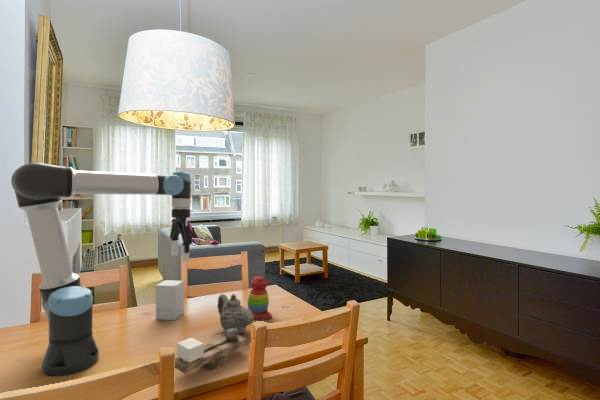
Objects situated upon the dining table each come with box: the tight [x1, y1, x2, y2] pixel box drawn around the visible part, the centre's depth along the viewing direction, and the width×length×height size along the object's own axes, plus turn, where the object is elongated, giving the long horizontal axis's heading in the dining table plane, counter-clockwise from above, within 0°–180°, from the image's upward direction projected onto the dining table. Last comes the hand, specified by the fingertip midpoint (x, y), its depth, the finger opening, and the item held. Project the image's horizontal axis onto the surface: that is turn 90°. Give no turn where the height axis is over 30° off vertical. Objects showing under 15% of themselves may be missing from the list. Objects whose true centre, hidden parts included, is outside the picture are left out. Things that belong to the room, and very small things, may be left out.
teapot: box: [217, 293, 255, 335], centre depth 136 cm, size 21×12×15 cm, turn 48°
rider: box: [176, 337, 205, 363], centre depth 104 cm, size 5×6×6 cm
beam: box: [174, 328, 248, 375], centre depth 111 cm, size 24×7×8 cm, turn 141°
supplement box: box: [155, 279, 185, 321], centre depth 150 cm, size 9×9×15 cm
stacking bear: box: [247, 275, 273, 321], centre depth 152 cm, size 11×10×18 cm
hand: (180, 257), depth 146 cm, fingers open, 13 cm apart
